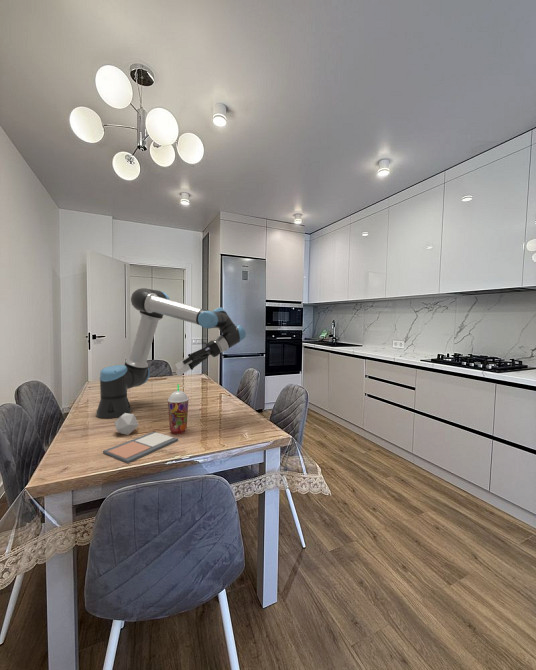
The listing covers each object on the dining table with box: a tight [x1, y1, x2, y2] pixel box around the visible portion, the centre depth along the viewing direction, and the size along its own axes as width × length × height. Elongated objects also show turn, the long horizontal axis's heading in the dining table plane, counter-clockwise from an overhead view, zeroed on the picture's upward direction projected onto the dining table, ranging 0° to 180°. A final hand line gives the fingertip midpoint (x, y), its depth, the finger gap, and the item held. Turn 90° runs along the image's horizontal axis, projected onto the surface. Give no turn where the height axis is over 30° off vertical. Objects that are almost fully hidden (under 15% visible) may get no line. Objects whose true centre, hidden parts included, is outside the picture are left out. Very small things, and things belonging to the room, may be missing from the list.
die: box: [114, 413, 139, 436], centre depth 117 cm, size 8×9×10 cm
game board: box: [102, 431, 179, 464], centre depth 105 cm, size 14×21×1 cm, turn 150°
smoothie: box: [167, 383, 190, 435], centre depth 119 cm, size 8×8×20 cm
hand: (176, 370), depth 126 cm, fingers open, 13 cm apart
